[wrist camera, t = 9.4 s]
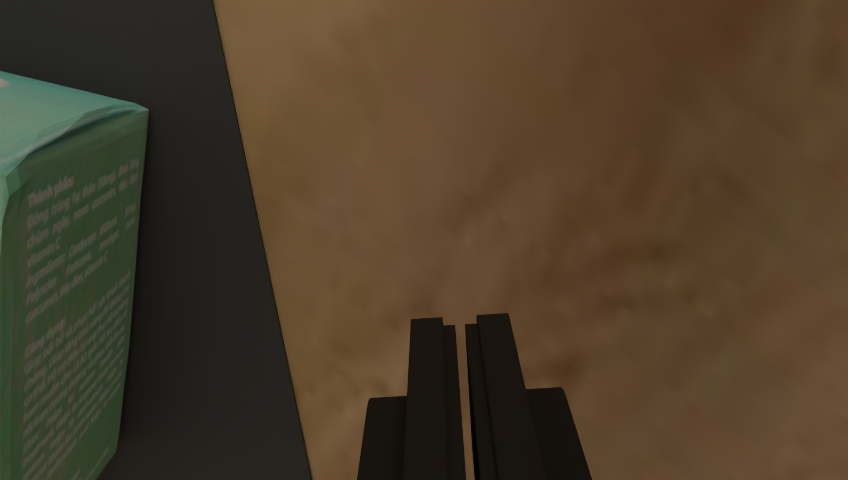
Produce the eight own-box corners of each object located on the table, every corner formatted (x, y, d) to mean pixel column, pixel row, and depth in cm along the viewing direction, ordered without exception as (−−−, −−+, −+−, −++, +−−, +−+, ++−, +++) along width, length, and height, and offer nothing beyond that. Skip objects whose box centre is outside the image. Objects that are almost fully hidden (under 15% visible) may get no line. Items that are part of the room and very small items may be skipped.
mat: (-236, -42, 17) (-239, -43, 16) (194, -86, 16) (193, -86, 16) (16, 505, 24) (14, 507, 24) (312, 481, 24) (312, 483, 24)
